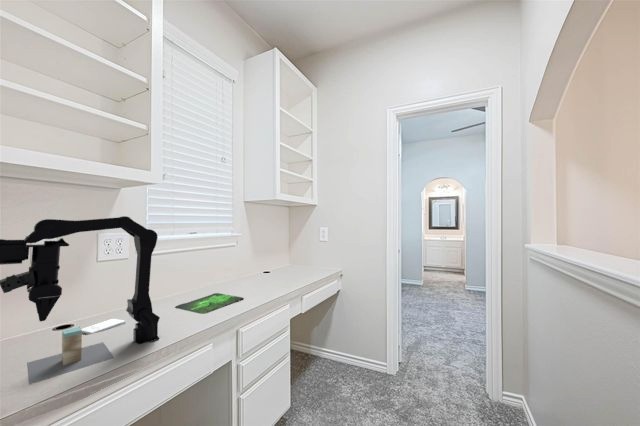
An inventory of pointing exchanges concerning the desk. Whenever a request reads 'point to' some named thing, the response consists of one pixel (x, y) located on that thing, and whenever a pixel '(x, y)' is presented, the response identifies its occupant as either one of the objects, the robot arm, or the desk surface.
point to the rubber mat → (55, 366)
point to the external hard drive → (102, 326)
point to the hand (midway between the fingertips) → (41, 317)
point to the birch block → (71, 345)
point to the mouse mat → (209, 303)
